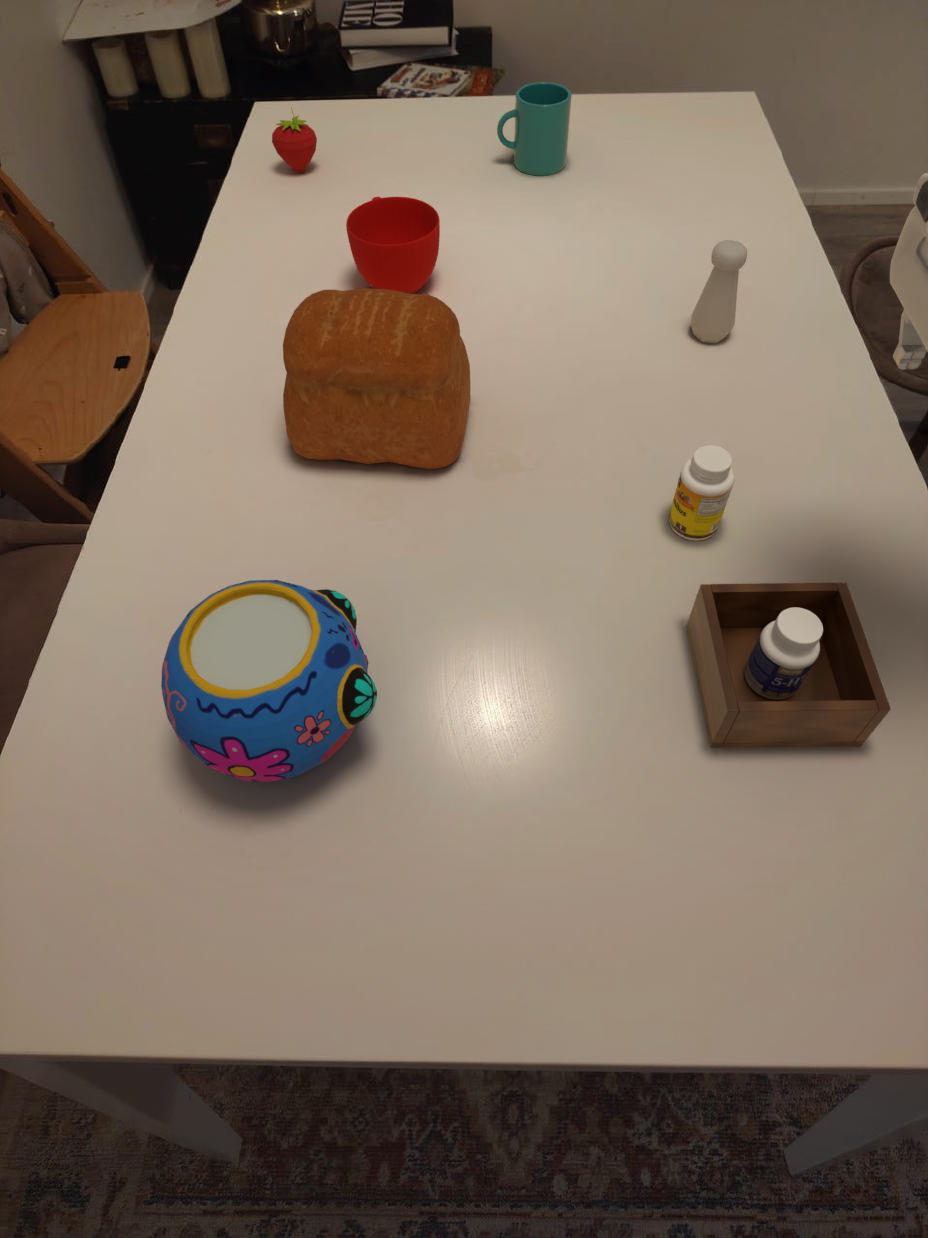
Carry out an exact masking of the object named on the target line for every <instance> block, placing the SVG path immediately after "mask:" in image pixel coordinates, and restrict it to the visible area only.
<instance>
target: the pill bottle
mask: <svg viewBox="0 0 928 1238" xmlns="http://www.w3.org/2000/svg"><path fill="white" fill-rule="evenodd" d="M822 633H823V625H822V623H821V621H820V619H819V618H818V617H817V616H816V615H815V614H814V613H812V612H810V611H809V610H806V609H803V608H798V607H793V608H788V609H785V610H784V611H782V612H781V613H780V614H779V616H778V617H777V619H776V620H775V621H773V622H771V623H769V624H768V625H767V626H766V627H765V628H764V629H763V631H762V632H761V634H760V636H759V638H758V640H757V642H756V644H755V647H754V649H753V651H752V652H751V655H750V657H749V659H748V661H747V663H746V665H745V669H744V675H745V679H746V681H747V683H748V685H749V686H750V687H751V689H752V690H753V691H755V692H756V693H757V694H759V695H761V696H763V697H765V698H768V699H773V700H780V699H786V698H788V697H790V696H792V695H793V694H794V693H795V692H796V691H797V690H798V688H799V687H800V685H801V683H802V682H803V680H804V679H805V677H806V675H807V674H808V672H809V671H810V669H811V667H812V666H813V664H814V662H815V661H816V659H817V657H818V655H819V652H820V643H819V640H820V638H821V636H822Z"/></svg>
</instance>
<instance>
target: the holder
mask: <svg viewBox="0 0 928 1238" xmlns="http://www.w3.org/2000/svg"><path fill="white" fill-rule="evenodd" d="M793 607H798V608H803V609H806V610H809V611H810V612H812V613H814V614H815V615H816V616H817V617H818V618H819V619H820V621H821V623H822V625H823V633H822V636H821V638H820V640H819V643H820V652H819V655H818V657H817V659H816V661H815V662H814V664H813V666H812V667H811V669H810V671H809V672H808V674H807V675H806V677H805V679H804V680H803V682H802V683H801V685H800V687H799V688H798V690H797V691H796V692H795V693H794V694H793V695H792V696H790V697H788V698H786V699H780V700H773V699H768V698H765V697H763V696H761V695H759V694H757V693H756V692H755V691H753V690H752V689H751V687H750V686H749V685H748V683H747V681H746V679H745V675H744V669H745V665H746V663H747V661H748V659H749V657H750V655H751V652H752V651H753V649H754V647H755V644H756V642H757V640H758V638H759V636H760V634H761V632H762V631H763V629H764V628H765V627H766V626H767V625H768V624H769V623H771V622H773V621H775V620H776V619H777V617H778V616H779V614H780V613H781V612H782V611H784V610H785V609H788V608H793ZM686 630H687V635H688V642H689V646H690V651H691V656H692V660H693V665H694V672H695V676H696V681H697V686H698V691H699V697H700V701H701V706H702V707H701V708H702V711H703V717H704V722H705V728H706V732H707V737H708V740H709V747H710V748H772V747H773V748H774V747H776V748H780V747H781V748H782V747H786V748H787V747H788V748H789V747H862V746H863V745H864V743H865V742H866V741H867V740H868V739H869V738H870V736H871V735H872V734H873V732H874V731H875V730H876V728H878V726H879V725H880V724H881V722H882V721H883V720H884V719H885V717H886V716H887V715H888V714H889V712H890V711H892V710H891V706H890V703H889V700H888V697H887V694H886V692H885V688H884V686H883V683H882V681H881V677H880V675H879V671H878V668H877V666H876V663H875V660H874V657H873V654H872V652H871V649H870V645H869V643H868V639H867V637H866V634H865V632H864V628H863V626H862V623H861V620H860V617H859V614H858V611H857V608H856V606H855V603H854V600H853V598H852V595H851V592H850V589H849V586H848V583H847V582H843V581H842V582H772V583H770V582H769V583H767V582H765V583H761V582H760V583H709V584H707V583H705V584H703V583H702V584H699V588H698V591H697V594H696V597H695V599H694V603H693V605H692V608H691V611H690V614H689V617H688V619H687V622H686Z"/></svg>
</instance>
